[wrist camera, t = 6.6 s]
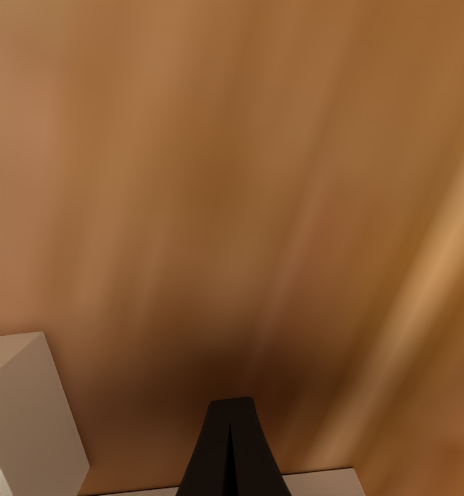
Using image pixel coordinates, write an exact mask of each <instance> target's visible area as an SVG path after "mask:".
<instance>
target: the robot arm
mask: <svg viewBox="0 0 464 496" xmlns="http://www.w3.org/2000/svg"><path fill="white" fill-rule="evenodd" d="M175 496H292V495H291V493H290V491H289V489H288V487H287V485H286V483H285V481H284V479H283V477H282V475H281V473H280V471H279V468H278V466H277V464H276V462H275V459H274V457H273V455H272V453H271V451H270V448H269V446H268V444H267V441H266V439H265V436H264V433H263V431H262V428H261V425H260V423H259V420H258V416H257V413H256V409H255V405H254V400H253V398H251V397H250V396H249V397H241V398H232V399H224V400H215V401H211V402H210V404H209V406H208V410H207V414H206V417H205V420H204V423H203V427H202V430H201V433H200V435H199V438H198V441H197V444H196V447H195V449H194V452H193V454H192V457H191V459H190V462H189V464H188V467H187V469H186V472H185V474H184V477H183V479H182V482H181V484H180V486H179V488H178V490H177V493H176V495H175Z"/></svg>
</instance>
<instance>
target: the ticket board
mask: <svg viewBox="0 0 464 496" xmlns="http://www.w3.org/2000/svg"><path fill="white" fill-rule="evenodd" d="M282 477H283V479H284V481H285V483H286V485H287V487H288V489H289V491H290V493H291V495H292V496H365V494H364V491H363V489H362V487H361V484H360V482H359V480H358V477H357V475H356V473H355V470H354V468H349V469H340V470H330V471H321V472H312V473H303V474H294V475H284V476H282ZM178 488H179V487H174V488H165V489H156V490H146V491H137V492H128V493H119V494H110V495H100V496H175V495H176V493H177V490H178Z"/></svg>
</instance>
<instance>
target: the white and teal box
mask: <svg viewBox="0 0 464 496" xmlns="http://www.w3.org/2000/svg"><path fill="white" fill-rule="evenodd" d="M89 468H90V465H89V462H88V459H87V457H86V454H85V451H84V448H83V445H82V442H81V439H80V436H79V433H78V430H77V428H76V425H75V422H74V419H73V416H72V413H71V410H70V407H69V404H68V401H67V399H66V396H65V393H64V390H63V387H62V384H61V381H60V378H59V375H58V372H57V370H56V367H55V364H54V361H53V358H52V355H51V352H50V349H49V346H48V343H47V340H46V338H45V335H44V332H43V331H40V332H31V333H23V334H14V335H5V336H0V496H77V494H78V492H79V490H80V488H81V485H82V483H83V481H84V479H85V477H86V475H87V472H88V470H89Z"/></svg>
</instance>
